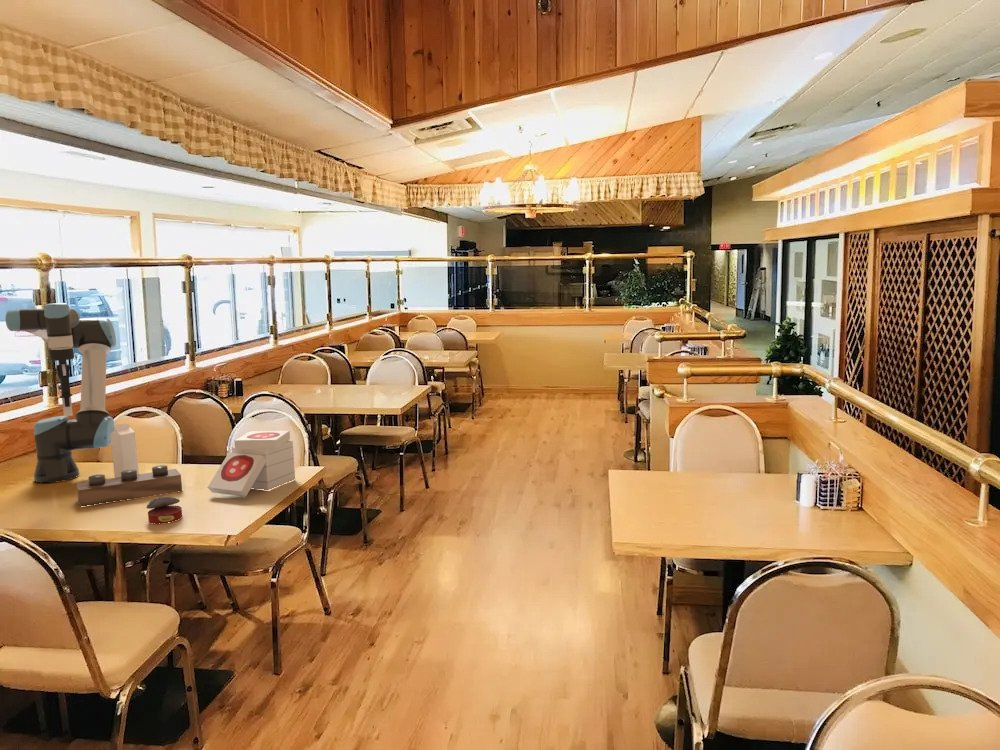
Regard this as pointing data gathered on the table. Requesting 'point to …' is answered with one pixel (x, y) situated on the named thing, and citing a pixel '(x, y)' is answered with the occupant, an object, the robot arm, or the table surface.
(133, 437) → the milk
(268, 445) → the pizza boxes
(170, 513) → the canned food
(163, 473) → the knob right
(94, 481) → the knob left
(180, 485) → the mount
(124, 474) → the knob middle
